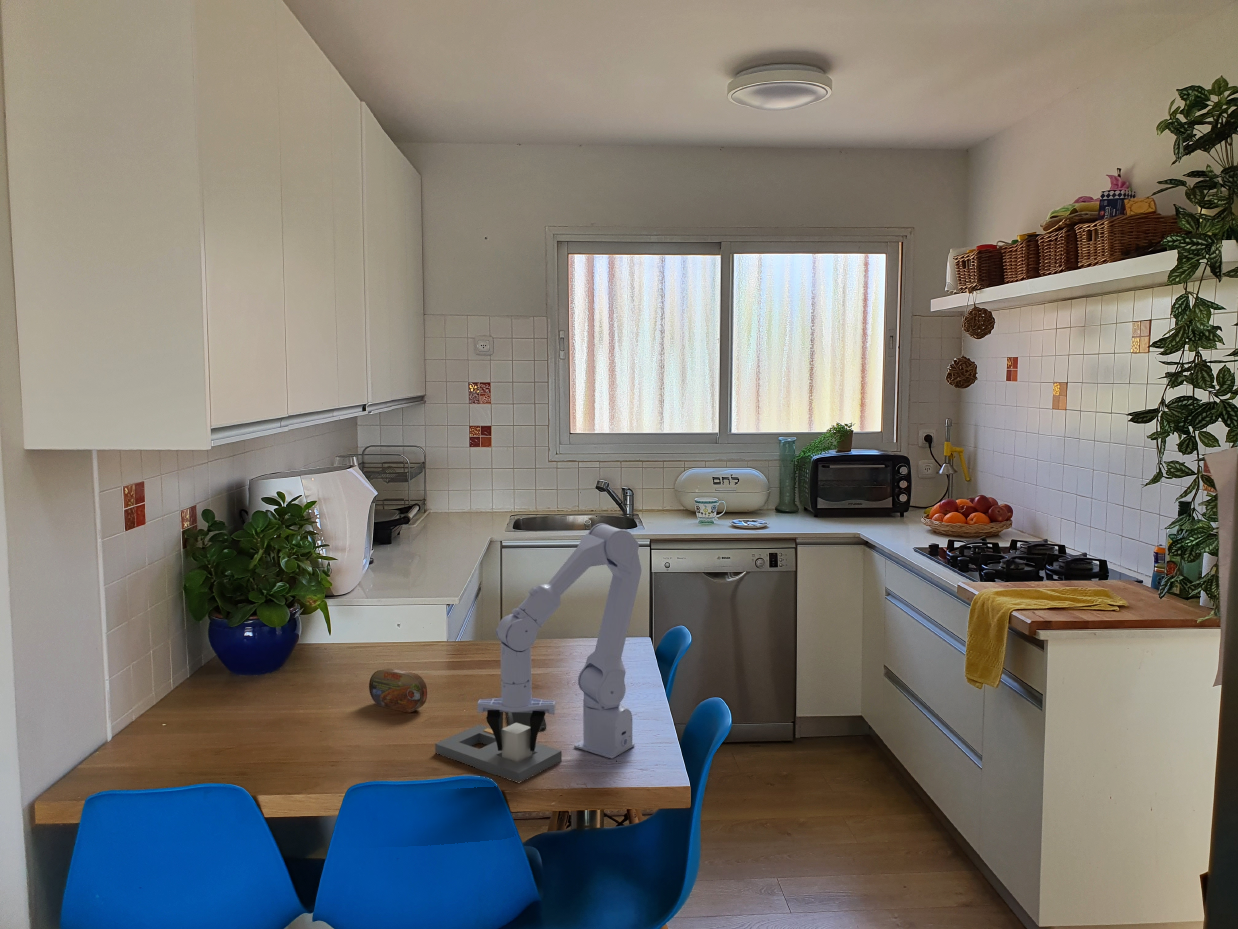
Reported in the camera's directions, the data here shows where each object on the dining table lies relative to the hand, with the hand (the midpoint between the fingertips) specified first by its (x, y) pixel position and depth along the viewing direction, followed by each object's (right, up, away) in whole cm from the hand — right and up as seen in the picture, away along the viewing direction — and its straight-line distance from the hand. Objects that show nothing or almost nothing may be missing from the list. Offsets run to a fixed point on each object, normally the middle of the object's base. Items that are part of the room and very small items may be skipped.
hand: (516, 749), depth 168 cm
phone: (-1, -1, +23) cm, 23 cm away
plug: (0, -3, 0) cm, 3 cm away
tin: (-30, 0, +29) cm, 42 cm away
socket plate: (-4, -3, +3) cm, 6 cm away
